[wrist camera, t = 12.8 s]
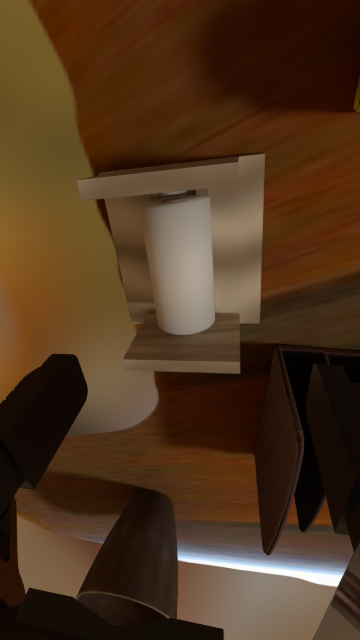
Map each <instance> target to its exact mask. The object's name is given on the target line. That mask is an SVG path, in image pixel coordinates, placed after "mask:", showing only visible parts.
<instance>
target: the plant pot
mask: <svg viewBox="0 0 360 640" xmlns="http://www.w3.org/2000/svg"><path fill="white" fill-rule="evenodd" d="M177 597H178V557H177V539H176V527H175V519H174V511H173V504H172V502H171V501H170V499H169V498H168V497H166V496H165V495H163V494H161V493H158V492H155V491H149V490H144V491H140V492H138V493H136V495H135V496H134V497H133V499H132V500H131V501H130V503H129V504H128V505H127V507H126V508H125V510H124V511H123V513H122V514H121V516H120V517H119V519H118V520H117V522H116V523H115V525H114V527H113V528H112V530H111V531H110V533H109V535H108V536H107V538H106V540H105V542H104V543H103V545H102V547H101V549H100V551H99V553H98V554H97V556H96V558H95V560H94V562H93V564H92V566H91V568H90V570H89V572H88V574H87V576H86V578H85V580H84V582H83V584H82V586H81V588H80V590H79V593H78V595H77V597H76V600H77V601H79V602H80V603H82V604H83V605H85V606H86V607H87V608H89V609H90V610H92V611H93V612H95V613H96V614H97V615H99V616H100V617H102V618H103V619H105V620H106V621H108V622H109V623H111V624H112V625H116V626H122V625H128V624H134V623H141V622H147V621H153V620H160V619H166V618H174V619H177Z"/></svg>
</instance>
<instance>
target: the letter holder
mask: <svg viewBox="0 0 360 640" xmlns="http://www.w3.org/2000/svg"><path fill="white" fill-rule="evenodd" d="M314 364H329V365H341V366H343V368H344V370H345V372H346V374H347V377H348V379H349V381H350V383H360V351H352V350H341V349H330V348H318V347H307V346H296V345H282V344H277V345H275V348H274V353H273V359H272V365H271V371H270V376H269V381H268V386H267V391H266V396H265V401H264V406H263V412H262V417H261V422H260V428H259V433H258V438H257V443H256V447H255V453H254V455H255V464H256V478H257V489H258V503H259V515H260V525H261V535H262V546H263V551H264V553H266V554H267V555H268V556H269V555H270V554H271V553H272V552H273V550H274V548H275V546H276V544H277V542H278V540H279V538H280V536H281V533H282V531H283V528H284V526H285V523H286V520H287V517H288V515H289V511H290V508H291V504H292V500H293V496H294V497H295V504H296V509H297V516H298V522H299V528H300V530H301V531H302V532H303V533H306V532H307V531H308V530H309V529H310V528H311V526H312V525H313V523H314V522H315V520H316V518H317V517H318V515H319V513H320V511H321V509H322V507H323V505H324V503H325V501H326V495H325V491H324V486H323V482H322V478H321V474H320V470H319V466H318V462H317V457H316V453H315V449H314V445H313V441H312V437H311V432H310V428H309V424H308V420H307V414H306V399H307V393H308V388H309V383H310V377H311V372H312V367H313V365H314Z"/></svg>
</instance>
